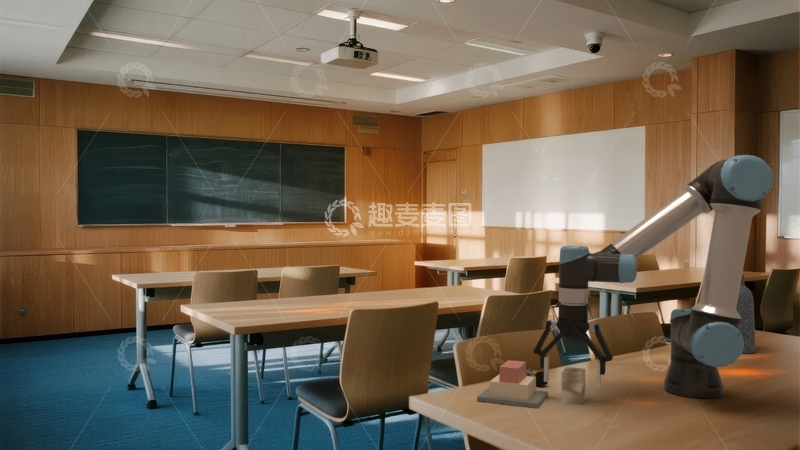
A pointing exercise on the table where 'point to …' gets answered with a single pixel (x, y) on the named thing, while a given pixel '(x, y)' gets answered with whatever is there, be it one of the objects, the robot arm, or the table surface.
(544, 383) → the brush
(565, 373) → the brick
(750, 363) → the table surface
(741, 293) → the vase
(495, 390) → the tiered block stack
